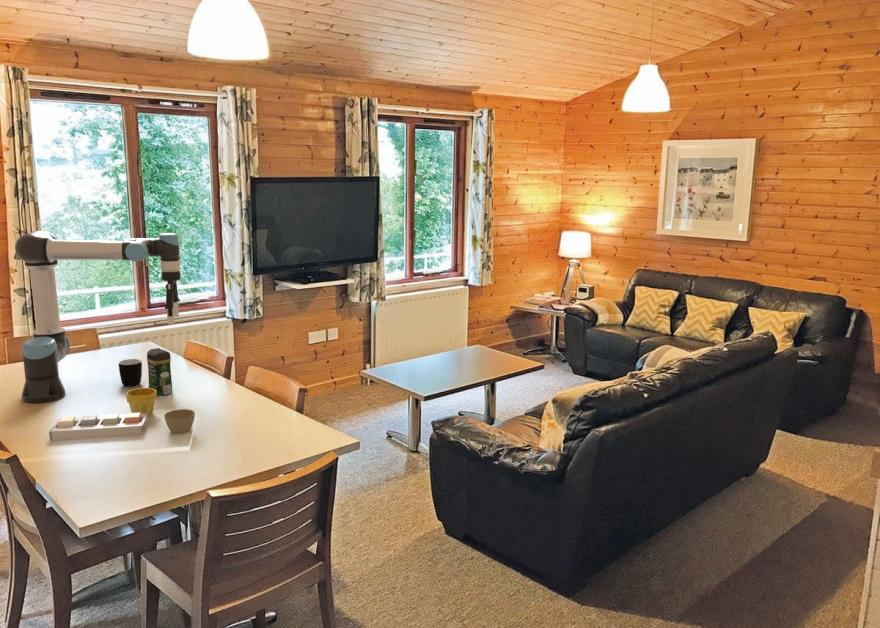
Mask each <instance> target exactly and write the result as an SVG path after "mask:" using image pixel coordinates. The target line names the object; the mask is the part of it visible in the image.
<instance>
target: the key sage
mask: <svg viewBox="0 0 880 628" xmlns="http://www.w3.org/2000/svg"><path fill="white" fill-rule="evenodd" d="M119 415H120V413H111V414H110V413H109V414H104V415H103V416H104V418H103V425H108V424H118V422H119Z"/></svg>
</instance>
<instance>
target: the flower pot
mask: <svg viewBox="0 0 880 628" xmlns="http://www.w3.org/2000/svg"><path fill="white" fill-rule="evenodd" d="M195 415H196V412H195V410H192V409H186V408H185V409H184V408H183V409H182V408H181V409H174V410H171V411H170V410H169V411H168V412H166V413H165V414H164V415H163V416H164V421H165V424H166V426H167V428H168V429H169V431H170V432H171V433H172V434H176V435H181V434H182V435H183V434H185V433H188V432H190V430H191V429H192V427H193V424H194V421H195Z"/></svg>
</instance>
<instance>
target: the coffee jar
mask: <svg viewBox="0 0 880 628" xmlns="http://www.w3.org/2000/svg"><path fill="white" fill-rule="evenodd" d="M171 358H172V357H171V353H170V352H169V351H167V350H165V349H162V348H159V347H157V348H151V349H149V350H148V351H147V353H146V361H147V368H148V369H147V371H148V388H153V389H155V390H156V392H157V397H165V396H168V395H171V394H173V391H174V390H173V382H172V380H173V379H172V371H171V360H172V359H171Z"/></svg>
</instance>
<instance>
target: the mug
mask: <svg viewBox="0 0 880 628" xmlns="http://www.w3.org/2000/svg"><path fill="white" fill-rule="evenodd" d="M142 370H143V362H142V360H141V359H138V358H128V359H122V360H119V362H118V371H119V376H120V380H121V384H122V386H123V387H126V388H131V387H137V386H140V384H141V382H142V376H143V375H142V374H143V371H142Z"/></svg>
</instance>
